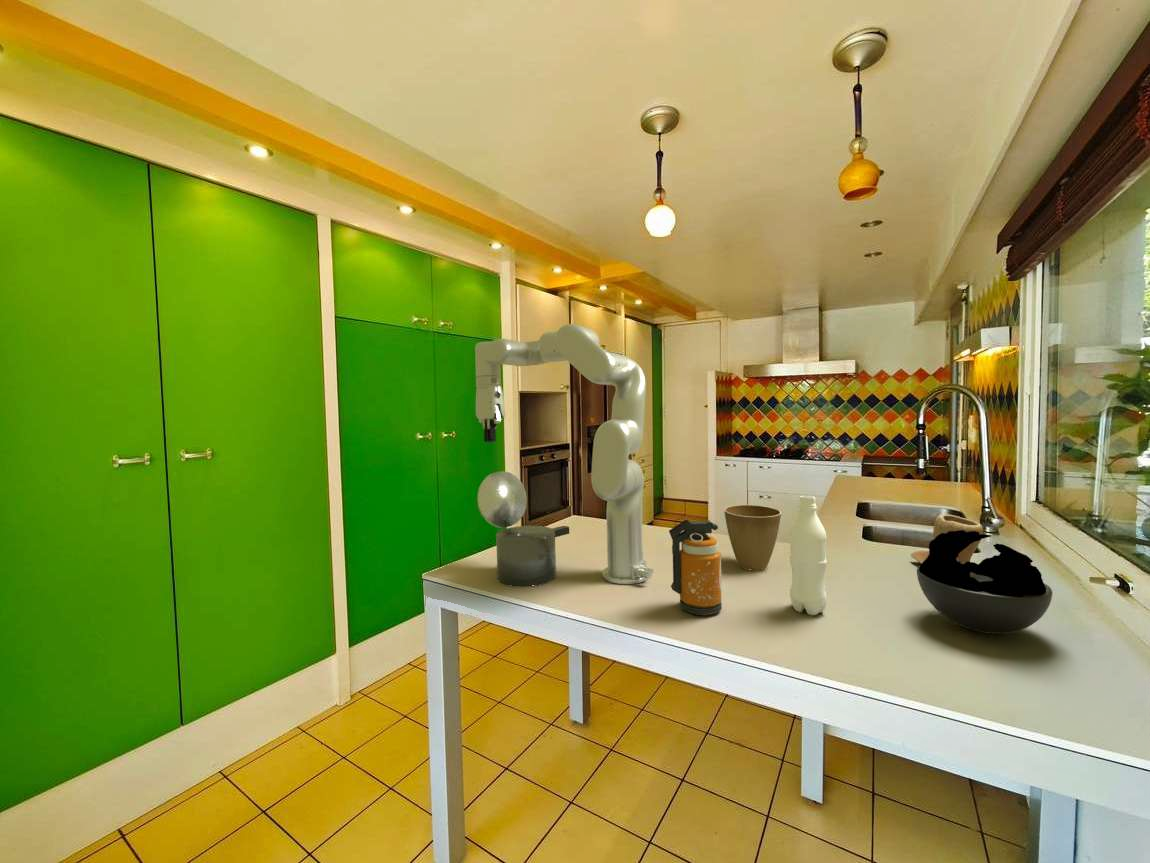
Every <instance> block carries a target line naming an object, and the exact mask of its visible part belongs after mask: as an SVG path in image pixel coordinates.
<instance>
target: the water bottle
mask: <svg viewBox="0 0 1150 863" xmlns="http://www.w3.org/2000/svg"><path fill="white" fill-rule="evenodd" d="M798 508H799V512H798V514H797V516H796V518H795V519H794V521H793V523H792V525H791V527H790V529H789V538H790V539H789V540H790V541H789V542H790V543H789V544H790V545H789V546H790V547H789V550H790V553H789V554H790V555H789V563H790V567H791V574H792V576H791V577H792V578H791V585H790V589H789V598H790V603H791V604H792V607H793V608H794V610H795V611H797V612H798V613H802V612H803V611H804V609H805V612H806V613H807V615H810V616H816V615H818V614H819V613H820V614H821V613H823V612H824V611H825V609H826V607H827V600H828V597H827V592H826V587H825V573H826V568H827V564H828V562H827V556H826V554H827V553H826V552H827V544H826V542H827V533H826V530H825V528H824V525H823V524H822V522H821V520H820V518H819V516H818V515H817V510H816V509H818V508H817V504H816V497H815V496H813V495H800V496H799V504H798Z"/></svg>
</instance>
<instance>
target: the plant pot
mask: <svg viewBox="0 0 1150 863" xmlns="http://www.w3.org/2000/svg"><path fill="white" fill-rule="evenodd" d="M723 511H724V517H725V522H726V529H727V534H728V537H729V541H730V544H731V549H732V551H733V553H734V556H735V557H734V558H736V559H735V560H736V562H737V565H738V566H739V567H740V566H741V567H743V568H742V569H744V568H746V569H745V570H747V569H751V570H750V571H755V570H758V571H763V570H762V569H764V570H766V569H767V567H768V565H769V563H770V560H771V557H772V554H773V552H774V549H775V546H776V543H777V542H776V541H777V537H778V534H779V529H780V524H781V523H780V522H781V517H782V511H781V510H780V509H776V508H774V507H771V506H764V505H757V504H755V505H754V504H737V505H736V504H735V505H731V506H730V505H729V506H727V507H726V506H725V508H723ZM741 567H740V568H741ZM765 568H766V569H765Z"/></svg>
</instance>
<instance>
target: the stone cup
mask: <svg viewBox="0 0 1150 863" xmlns="http://www.w3.org/2000/svg"><path fill="white" fill-rule="evenodd" d="M983 528H984V527H983V525H982V524H981V523H979V522H977V521H975V520H971V519H969V518H964V517H962V516H961V517H960V516H958V515H953V514H946V513H945V514H944V513H943V514H939V515H937V517H935V520H934V523H933V532H932V537H933V539H935V537H936V536H938V535H939V534H941V533H945V534H946V533H947V532H948V531H959V530H964V531H966V532H970V531H977V532H979V534H984V529H983ZM981 540H982V539H981ZM981 540H980V541H976V542H973V543H972V544H969V546H968V547H967V548H965V549H964V550H963V551H962V552H960V553H959V556H958V557H957V558H956V560H957V561H958V562H961V563H965V562H971V559H972V557H973V554H974V553H975V551H976V550H977V548H978V547H979V545H980V543H981ZM928 555H929V550H920V551H919V550H918V551H914V552H911V554H910V557H911V558H912V559H914V560H915V561H917V562H918V563H920V565H921V564H922V563H923V561H924V560H925V559H926V558H927V557H928Z"/></svg>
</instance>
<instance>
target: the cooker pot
mask: <svg viewBox="0 0 1150 863" xmlns="http://www.w3.org/2000/svg"><path fill="white" fill-rule="evenodd" d="M569 534H570V526H567V525H561V526H557V527H553V528H551V527H549V526H543V525H520V526H518V525H517V526H510V527H508V528H507V527H506V528H504V529H499V530H498V531H497V532H496V534H495V538H496V540H495V542H496V545H495V546H496V567H497V568H496V572H497V581H498V580H499V581H500V582H501V584H502V583H503V584H502V585H504V584H506V585H505V586H508V585H512V586H511V587H514V586H530V587H533V586H532V585H537V586H540V585H539V584H542V585H544V584H543V583H545V584H547V582H548V583H550V582H551V580H552V581H553V580H555V579H556V578H557V559H556V556H557V555H556V538H558V537H562V536H566V535H569ZM499 581H498V582H499ZM549 581H550V582H549ZM500 582H499V583H500Z"/></svg>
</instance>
